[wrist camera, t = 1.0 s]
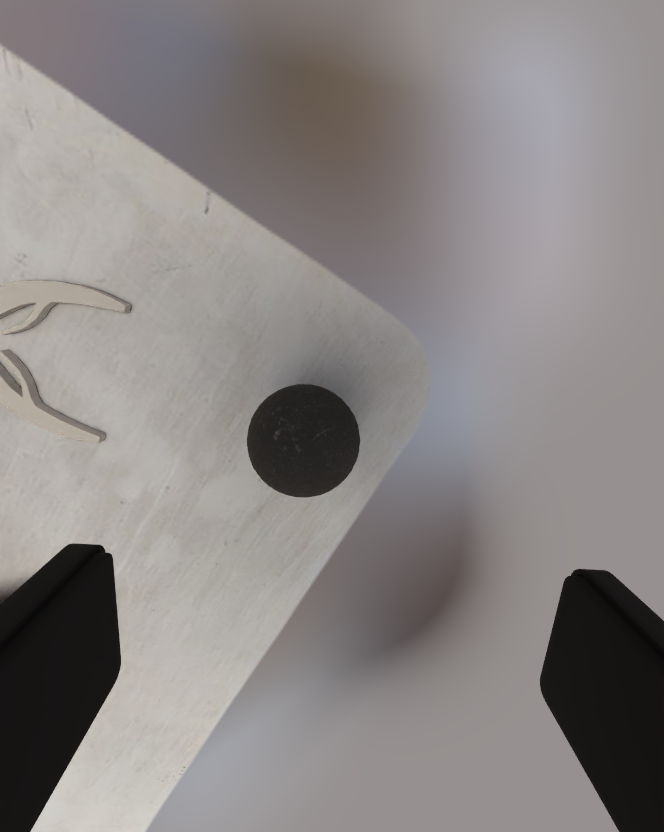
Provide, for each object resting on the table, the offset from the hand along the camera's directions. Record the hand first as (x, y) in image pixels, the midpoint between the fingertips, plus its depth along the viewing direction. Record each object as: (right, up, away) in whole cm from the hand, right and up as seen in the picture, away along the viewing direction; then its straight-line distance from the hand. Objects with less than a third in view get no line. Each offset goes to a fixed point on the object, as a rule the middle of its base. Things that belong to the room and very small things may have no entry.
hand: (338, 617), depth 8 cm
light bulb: (-2, +5, +19) cm, 19 cm away
